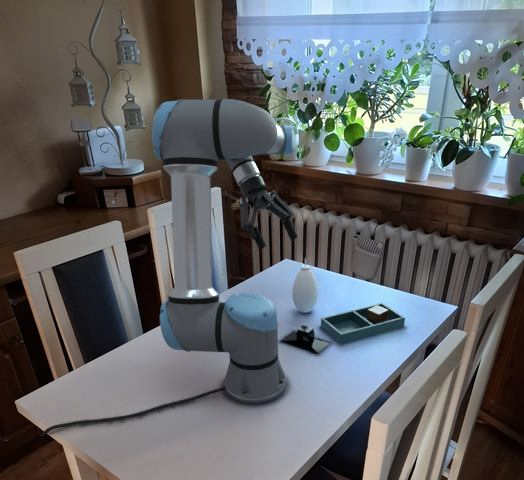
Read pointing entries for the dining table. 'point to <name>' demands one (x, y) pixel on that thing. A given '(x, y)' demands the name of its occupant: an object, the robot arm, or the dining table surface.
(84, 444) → the dining table surface
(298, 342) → the build plate
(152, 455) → the dining table surface
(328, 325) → the tray
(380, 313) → the walnut block
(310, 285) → the sauce bottle
